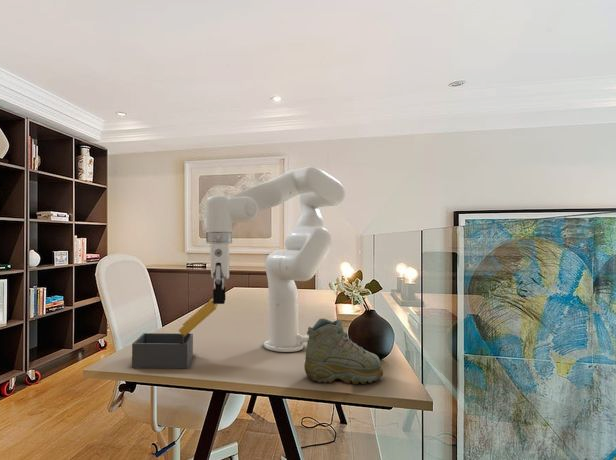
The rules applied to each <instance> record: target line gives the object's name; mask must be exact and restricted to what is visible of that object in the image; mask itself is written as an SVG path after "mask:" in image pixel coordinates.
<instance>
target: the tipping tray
mask: <svg viewBox="0 0 616 460" xmlns="http://www.w3.org/2000/svg"><path fill="white" fill-rule="evenodd" d="M218 305H219V304H214V303H213V297H212V298H211V299H210V300H209V301H208V302H206V303H205V304H204V305H203V306H202V307H201V308H199V309H198V310H197V311H196V312H195V313H194V314H192V315H191V316H190V317H189V318H188V319H186V321H184V322H183V324H182V326H181V327H180V328H179V329H178V333H179V334H183V335H184V337H185V336H186V335H187V334H188V333H189V334H190V332H192V331H193V330H194V329H195V328H196V327H197V326H198V325H200V323H202V322H203V321H204V320H205V319H207V318H208V317H209V316H210V315H212V313H213V312H214V311H216V310H217V307H218Z"/></svg>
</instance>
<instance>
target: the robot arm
mask: <svg viewBox="0 0 616 460" xmlns="http://www.w3.org/2000/svg"><path fill="white" fill-rule="evenodd" d="M345 191H346V190H345V188H344V185H343V183H341V182H340V181H339V180H337V179H336V178H335V177H333V176H332V175H330V174H329V173H327V172H326V171H324V170H322V169H320V168H318V167H315V166H312V165H311V166H310V165H309V166H305V167H299V168H294V169H291V170H288V171H286V172H283V173H282V174H279V175H277V176H276V177H273V178H271V179H269V180H266V181H264V182H262V183H259V184H256V185H254V186H252V187H250V188H247V189H244V190H242V191H239V192H237V193H234V194H232V195H230V196H226V195H211V196H209V197H207V198H206V201H205V216H206V217H205V224H206V225H205V240H206V241H205V244H206V245H209V246H210V247H209V248H210V249H209V250H210V251H209V253H210V255H209V256H210V257H209V258H210V260H209V261H210V276H211V278H212V279H213V289H212V298H213V303H214V304H218V305H225V303H226V281H225V279H226V280H228V279H229V278H230V246H229V245H232V244H233V224H234V223H248V222H250V221H253V220H254V219H255V218H257V215H258V214H259V211H260V210H265V209H271V208H275V207H277V206H279V205H281V204H283V203H285V202H287V201H288V200H290V199H292V198H294V197H297V196H298V199H299V204H300V212H301V214H300V217H299V218H298V220H297V222H296V223H295V224H294V225H293V227H292V229H291V230H290V231H289V233H288V235H287V236H286V238H285V241H284V247H285V249H276V250H273V251H271V252H270V253H269V254H268V255H267V257H266V258H265V263H264V264H265V266H264V268H265V273H266V277H267V285H268V286H267V287H268V340H266V341H265V340H264V343H263V347H264V348H265V349H266V350H269V351H272V352H279V353H293V352H299V351H301V350H303V349H304V343H306V344H307V343H308V339H309V335H308V334H306V335H301V334H300V332H299V293H298V288H297V284H296V282H295V281H297V282H307V281H310V280H311V279H313V278H314V277H315V275H316V274H317V272H318V271H319V269H320V267H321V266H322V265H323V263H324V262H325V260H326V258H327V257H328V255H329V253H330V252H331V248H332V244H333V243H332V242H333V240H332V235H331V233H330V231H329V230H328V229H327V228H325V227H324V224H325V221H324V218H323V215H322V213H321V210H320V208H325V207H326V208H327V207H333V206H338V205H340V204H341V203H342V202H343V201H344V199H345V197H346V196H345V194H346V192H345Z"/></svg>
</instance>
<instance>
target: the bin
mask: <svg viewBox="0 0 616 460" xmlns="http://www.w3.org/2000/svg"><path fill="white" fill-rule="evenodd" d="M193 356H194V333H190V332H189V333H188V334H187V335H186V336H185V337H184V335H183V334H181V333H180V332H178V333H173V332H172V333H171V332H170V333H168V332H167V333H163V332H161V333H160V332H159V333H158V332H154V333H153V332H143V333H142V334H141V335H140V336H139V337H138V338H137V339H136V340H135V341H133V342H132V343H131V368H133V369H137V368H139V369H141V368H142V369H188V367H189V365H190V363H191V361H192V359H193Z"/></svg>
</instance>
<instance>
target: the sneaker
mask: <svg viewBox="0 0 616 460" xmlns="http://www.w3.org/2000/svg"><path fill="white" fill-rule="evenodd" d="M306 335H308V336H309V339H308V343H307V342H306V347H305V358H304V359H305V361H304V372H305V374H306V376H307V378H309V379H310V380H311V381H313V382H316V383H320V384H321V383H323V384H324V383H325V384H326V383H327V384H328V383H329V384H331V383H333V382H334V381H335V380H340V381H342V382H344V383H345V384H351V383H352V385H359V384H361V385H366V384H367V383H368V384H372V383H373V382H377V381H378V380H380V379H381V377H383V375H384V370H383V367H382V364H381V360H380V358H379V356H378V355H377V354H375V353H373V352H370V351H368V350H367V349H364V348H363V347H362V346H359V345H358V344H357V343H356V342H354V341H352V339H351V338H349V334H348V332H345V330H344V326H343V320H341V319H336V320H334V321H332V320H329V319H326V318H319V319H318V320H317V321H316V322H315V323H314V325H313V326H312V327H311V326H308V329H307V331H306Z"/></svg>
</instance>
